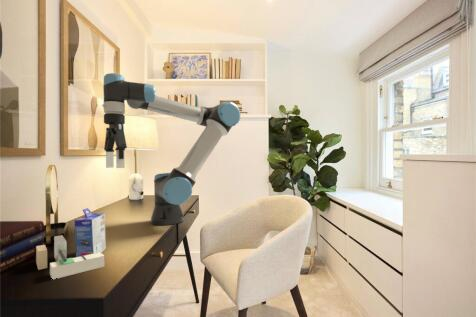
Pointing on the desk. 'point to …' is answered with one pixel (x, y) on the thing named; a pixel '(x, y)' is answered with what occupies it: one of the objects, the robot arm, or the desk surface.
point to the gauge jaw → (60, 248)
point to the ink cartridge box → (90, 233)
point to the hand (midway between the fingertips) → (114, 167)
